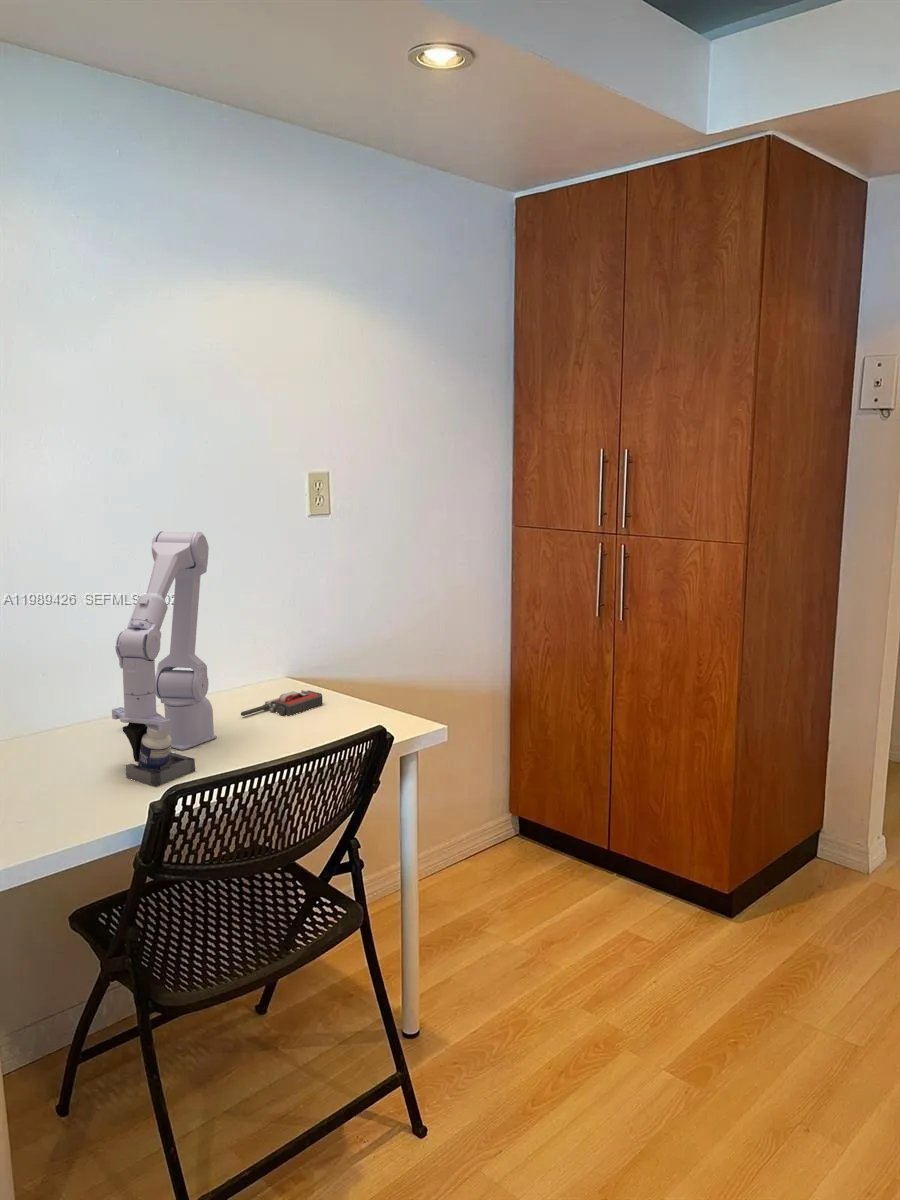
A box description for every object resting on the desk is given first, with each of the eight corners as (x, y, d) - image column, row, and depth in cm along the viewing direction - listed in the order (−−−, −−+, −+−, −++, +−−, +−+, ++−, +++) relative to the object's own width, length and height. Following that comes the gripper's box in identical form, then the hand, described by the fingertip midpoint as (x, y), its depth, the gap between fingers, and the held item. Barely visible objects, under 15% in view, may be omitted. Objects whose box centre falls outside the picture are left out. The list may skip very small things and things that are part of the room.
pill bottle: (135, 763, 172) (141, 719, 169) (163, 762, 175) (170, 718, 172) (140, 779, 168) (146, 734, 165) (169, 777, 171) (176, 733, 167)
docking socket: (166, 763, 177) (165, 750, 176) (195, 771, 172) (194, 758, 172) (126, 778, 169) (125, 765, 168) (155, 787, 164) (154, 774, 164)
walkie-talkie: (303, 699, 221) (238, 719, 205) (302, 681, 220) (237, 700, 205) (328, 705, 216) (264, 726, 200) (328, 687, 215) (263, 707, 199)
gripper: (97, 690, 170) (99, 759, 172) (147, 702, 162) (149, 774, 164) (128, 682, 176) (130, 749, 178) (178, 694, 168) (180, 764, 170)
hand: (142, 761), depth 172 cm, fingers closed, pressing on pill bottle
